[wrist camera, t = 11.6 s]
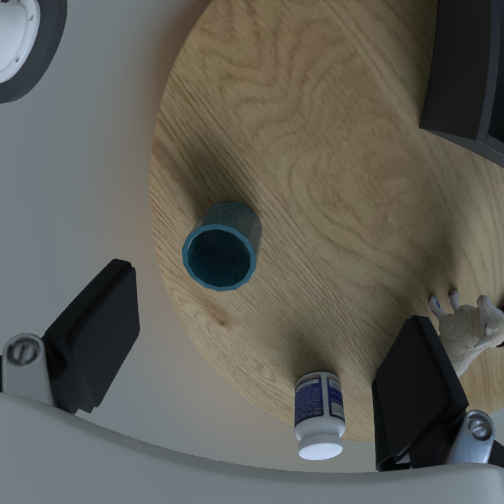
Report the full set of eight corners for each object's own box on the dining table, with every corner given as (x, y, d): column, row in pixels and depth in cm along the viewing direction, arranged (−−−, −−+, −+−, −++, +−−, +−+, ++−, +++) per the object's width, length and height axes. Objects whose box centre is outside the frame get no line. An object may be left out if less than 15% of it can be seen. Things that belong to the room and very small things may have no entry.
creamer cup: (188, 223, 27) (167, 251, 22) (236, 188, 25) (224, 209, 20) (226, 267, 28) (213, 302, 24) (274, 237, 26) (271, 268, 22)
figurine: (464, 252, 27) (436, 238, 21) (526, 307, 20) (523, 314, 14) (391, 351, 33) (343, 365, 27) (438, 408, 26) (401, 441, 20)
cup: (351, 390, 35) (361, 470, 24) (393, 355, 31) (416, 439, 21) (389, 403, 36) (403, 474, 25) (428, 372, 32) (453, 445, 22)
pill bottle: (292, 396, 36) (290, 462, 27) (297, 368, 34) (296, 440, 25) (335, 397, 36) (340, 461, 27) (344, 369, 33) (353, 440, 24)
